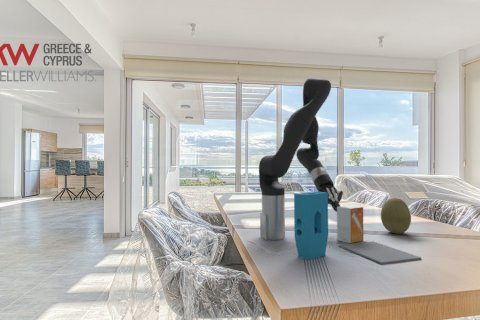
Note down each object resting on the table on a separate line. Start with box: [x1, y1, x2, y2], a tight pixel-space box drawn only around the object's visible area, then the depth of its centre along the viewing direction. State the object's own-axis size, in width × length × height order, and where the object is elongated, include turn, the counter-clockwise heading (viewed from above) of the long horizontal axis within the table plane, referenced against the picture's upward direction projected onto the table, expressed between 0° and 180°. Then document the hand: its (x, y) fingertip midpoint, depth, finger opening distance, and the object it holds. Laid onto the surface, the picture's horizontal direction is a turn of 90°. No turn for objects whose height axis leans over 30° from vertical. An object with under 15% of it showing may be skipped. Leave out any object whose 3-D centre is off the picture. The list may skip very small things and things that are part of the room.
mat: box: [338, 240, 422, 265], centre depth 97 cm, size 15×20×1 cm
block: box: [293, 191, 329, 261], centre depth 94 cm, size 12×5×20 cm, turn 128°
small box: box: [336, 204, 364, 244], centre depth 113 cm, size 8×6×13 cm
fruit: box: [380, 197, 412, 235], centre depth 124 cm, size 11×11×15 cm
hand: (338, 210), depth 120 cm, fingers closed
